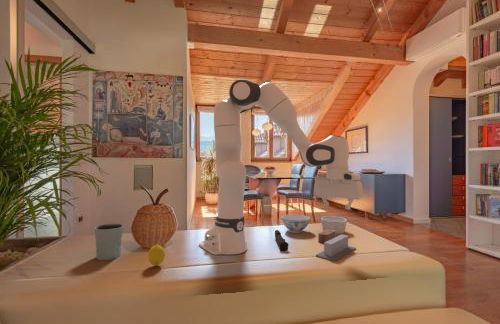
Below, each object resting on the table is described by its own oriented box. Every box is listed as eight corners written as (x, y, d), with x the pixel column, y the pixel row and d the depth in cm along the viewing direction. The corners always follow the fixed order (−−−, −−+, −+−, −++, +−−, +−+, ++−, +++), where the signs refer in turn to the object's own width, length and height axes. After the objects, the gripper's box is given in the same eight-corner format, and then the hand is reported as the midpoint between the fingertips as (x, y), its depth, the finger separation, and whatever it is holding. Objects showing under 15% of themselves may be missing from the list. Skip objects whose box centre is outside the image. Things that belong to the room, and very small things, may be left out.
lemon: (164, 268, 98) (164, 245, 98) (147, 269, 96) (147, 247, 96) (164, 262, 103) (164, 241, 103) (149, 264, 101) (148, 242, 101)
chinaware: (290, 236, 138) (290, 221, 138) (276, 229, 152) (276, 215, 152) (315, 233, 143) (315, 218, 143) (300, 226, 157) (300, 213, 157)
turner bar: (324, 254, 110) (324, 242, 110) (341, 245, 122) (341, 234, 122) (331, 256, 108) (331, 244, 108) (348, 247, 120) (348, 235, 120)
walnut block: (318, 233, 129) (328, 229, 137) (318, 241, 129) (328, 237, 137) (326, 235, 127) (335, 230, 134) (326, 243, 127) (335, 239, 134)
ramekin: (351, 234, 143) (351, 221, 142) (328, 235, 140) (329, 222, 139) (337, 227, 155) (338, 215, 155) (316, 229, 152) (316, 216, 152)
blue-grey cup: (88, 258, 107) (88, 227, 106) (110, 250, 116) (110, 222, 116) (107, 262, 103) (107, 230, 103) (128, 253, 112) (128, 224, 112)
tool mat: (315, 256, 110) (315, 254, 110) (338, 244, 125) (338, 243, 125) (334, 261, 105) (334, 260, 105) (355, 249, 119) (355, 247, 119)
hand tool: (288, 251, 117) (288, 240, 117) (279, 251, 116) (279, 240, 116) (281, 238, 136) (281, 229, 135) (273, 238, 135) (273, 229, 135)
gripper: (311, 173, 119) (310, 205, 119) (358, 176, 105) (357, 212, 105) (318, 173, 124) (318, 203, 124) (364, 175, 110) (364, 210, 110)
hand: (336, 207), depth 114 cm, fingers open, 8 cm apart
